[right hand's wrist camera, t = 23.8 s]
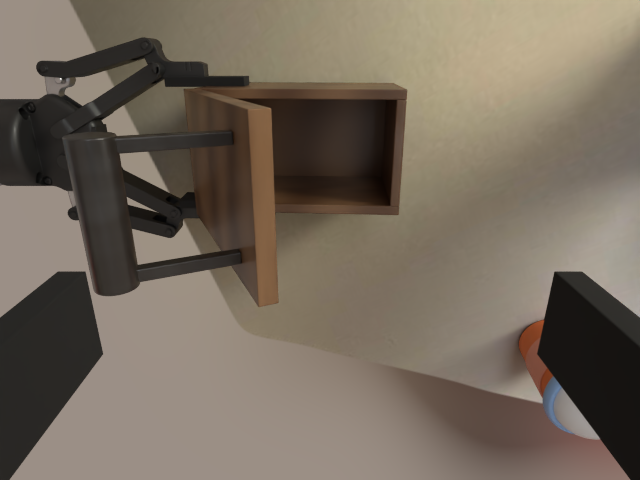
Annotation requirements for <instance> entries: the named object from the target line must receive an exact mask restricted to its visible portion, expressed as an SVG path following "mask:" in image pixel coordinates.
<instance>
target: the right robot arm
mask: <svg viewBox="0 0 640 480" xmlns="http://www.w3.org/2000/svg"><path fill="white" fill-rule="evenodd" d="M102 355H103V351H102V347H101V342H100V338H99V333H98V328H97V324H96V319H95V314H94V310H93V305H92V300H91V296H90V291H89V286H88V282H87V277H86V273H85V272H57V273H56V274H54V275H53V276H52V277H51V278H49V279H48V280H47V281H46V282H44V283H43V284H42V285H41V286H39V287H38V288H37V289H36V290H34V291H33V292H32V293H31V294H29V295H28V296H27V297H26V298H24V299H23V300H22V301H21V302H19V303H18V304H17V305H16V306H14V307H13V308H12V309H11V310H9V311H8V312H7V313H6V314H4V315H3V316H2V317H1V318H0V480H10V478H11V477H12V475H13V474H14V473H15V471H16V470H17V469H18V468H19V466H20V465H21V463H22V462H23V461H24V459H25V458H26V457H27V455H28V454H29V453H30V451H31V450H32V449H33V447H34V446H35V445H36V443H37V442H38V441H39V439H40V438H41V437H42V435H43V434H44V433H45V431H46V430H47V429H48V427H49V426H50V425H51V423H52V422H53V420H54V419H55V418H56V416H57V415H58V414H59V412H60V411H61V410H62V408H63V407H64V406H65V404H66V403H67V402H68V400H69V399H70V398H71V396H72V395H73V394H74V392H75V391H76V390H77V388H78V387H79V386H80V384H81V383H82V382H83V380H84V379H85V378H86V376H87V375H88V374H89V372H90V371H91V369H92V368H93V367H94V365H95V364H96V363H97V361H98V360H99V359H100V357H101V356H102ZM537 355H538V356H539V357H540V359H541V360H542V361H543V363H544V364H545V365H546V367H547V368H548V369H549V371H550V372H551V374H552V375H553V376H554V378H555V379H556V380H557V382H558V383H559V384H560V386H561V387H562V388H563V390H564V391H565V392H566V394H567V395H568V396H569V398H570V399H571V400H572V402H573V403H574V404H575V406H576V407H577V408H578V410H579V411H580V412H581V414H582V415H583V416H584V418H585V419H586V421H587V422H588V423H589V425H590V426H591V427H592V429H593V430H594V431H595V433H596V434H597V435H598V437H599V438H600V439H601V440H602V442H603V443H604V445H605V446H606V447H607V449H608V450H609V451H610V453H611V454H612V455H613V457H614V458H615V459H616V461H617V462H618V463H619V465H620V466H621V468H622V469H623V470H624V471H625V473H626V474H627V475H628V477H629V478H630V480H640V318H639V317H638V316H637V315H636V314H634V313H633V312H632V311H631V310H629V309H628V308H627V307H626V306H624V305H623V304H622V303H621V302H619V301H618V300H617V299H616V298H614V297H613V296H612V295H611V294H609V293H608V292H607V291H606V290H604V289H603V288H602V287H601V286H599V285H598V284H597V283H596V282H594V281H593V280H592V279H591V278H589V277H588V276H587V275H586V274H584V273H583V272H554V277H553V282H552V286H551V291H550V296H549V300H548V305H547V310H546V314H545V319H544V323H543V328H542V333H541V337H540V342H539V347H538V351H537Z"/></svg>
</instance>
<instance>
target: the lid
mask: <svg viewBox="0 0 640 480" xmlns="http://www.w3.org/2000/svg"><path fill="white" fill-rule="evenodd" d="M184 96H185V105H186V115H187V124H188V132H180V133H162V134H145V135H128V136H116V134H115V133H111V132H84V133H75V134H69V135H66V136H63V137H62V140H63V145H64V150H65V155H66V160H67V164H68V169H69V174H70V179H71V184H72V188H73V193H74V198H75V203H76V208H77V212H78V217H79V222H80V226H81V231H82V236H83V241H84V246H85V251H86V255H87V260H88V265H89V270H90V274H91V279H92V284H93V289H94V291H95V293H96V294H98V295H102V296H116V295H121V294H125V293H128V292H130V291H132V290H134V289H136V288H137V287H138V286H139V284H140V282H143V281H148V280H154V279H159V278H165V277H170V276H176V275H182V274H187V273H193V272H198V271H204V270H209V269H215V268H221V267H226V266H232V268H233V269H234V271H235V272H236V274H237V275H238V277H239V278H240V280H241V281H242V283H243V284H244V286H245V287H246V289H247V290H248V292H249V293H250V295H251V296H252V298H253V299H254V301H255V302H256V304H257V305H258V307H261V306H266V305H270V304H275V303H278V280H277V253H276V226H275V199H274V172H273V145H272V118H271V108H268V107H265V106H261V105H257V104H253V103H250V102H246V101H242V100H238V99H235V98H231V97H227V96H224V95H220V94H216V93H212V92H209V91H205V90H201V89H184ZM188 148H190V153H191V162H192V172H193V181H194V191H195V200H196V210H197V215H198V216H199V218H200V219H201V221H202V222H203V224H204V225H205V227H206V228H207V230H208V231H209V233H210V234H211V236H212V237H213V239H214V240H215V242H216V243H217V245H218V246H219V248H220V249H221V251H220V252H214V253H208V254H202V255H196V256H189V257H183V258H177V259H171V260H165V261H159V262H153V263H147V264H141V265H138V264H137V258H136V252H135V246H134V240H133V234H132V228H131V222H130V216H129V210H128V204H127V197H126V191H125V185H124V179H123V173H122V167H121V161H120V155H119V153H133V152H147V151H161V150H174V149H188Z"/></svg>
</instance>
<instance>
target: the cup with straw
mask: <svg viewBox="0 0 640 480" xmlns="http://www.w3.org/2000/svg"><path fill="white" fill-rule="evenodd" d="M543 323H544V320H541V321H538V322H536V323H534V324H532V325H530V326H529V327H528V328H527V329H526V330H525V331H524V332H523V333H522V335H521V337H520V340H519V349H520V352H521V354H522V356H523V358H524V360H525V362H526V366H527V369H528V371H529V373H530V375H531V377H532V379H533V381H534V383H535V385H536V387H537V389H538V391H539V392H540V394H541V396H542V398H543V407H544V410H545V413H546V415H547V416H548V418H549V419H550V421H551V422H552V423H553V424H554V425H555V426H557V427H558V428H560V429H561V430H563V431H565V432H568V433H571V434H576V435H578V436H581V437H584V438H588V439H600V438H599V437H598V435H597V434H596V433H595V431H594V430H593V429H592V427H591V426H590V425H589V423H588V422H587V421H586V419H585V418H584V416H583V415H582V414H581V412H580V411H579V410H578V408H577V407H576V406H575V404H574V403H573V402H572V400H571V399H570V398H569V396H568V395H567V394H566V392H565V391H564V390H563V388H562V387H561V386H560V384H559V383H558V382H557V380H556V379H555V378H554V376H553V375H552V374H551V372H550V371H549V369H548V368H547V367H546V365H545V364H544V363H543V361H542V360H541V359H540V357H539V356H538V355H537V351H538V347H539V342H540V337H541V333H542V328H543Z"/></svg>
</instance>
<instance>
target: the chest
mask: <svg viewBox="0 0 640 480" xmlns="http://www.w3.org/2000/svg"><path fill="white" fill-rule="evenodd" d="M195 89H201V90H205V91H209V92H212V93H216V94H220V95H224V96H227V97H231V98H235V99H238V100H242V101H246V102H250V103H253V104H257V105H261V106H265V107H268V108H271V118H272V145H273V172H274V199H275V212H282V213H330V214H377V215H398V214H399V199H400V185H401V171H402V157H403V143H404V129H405V114H406V99H407V90H406V89H404V88H402V87H400V86H398V85H396V84H394V83H251V82H249V85H247V86H206V87H200V88H195Z"/></svg>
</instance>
